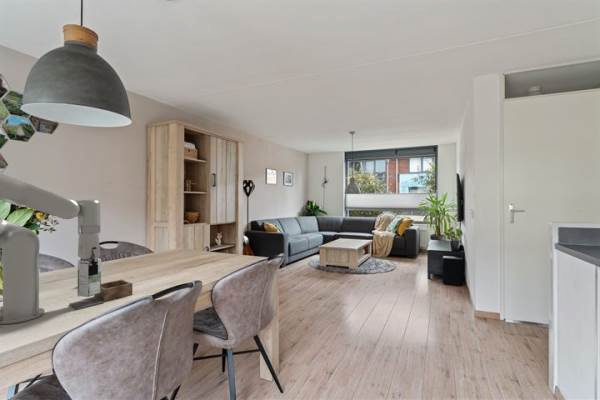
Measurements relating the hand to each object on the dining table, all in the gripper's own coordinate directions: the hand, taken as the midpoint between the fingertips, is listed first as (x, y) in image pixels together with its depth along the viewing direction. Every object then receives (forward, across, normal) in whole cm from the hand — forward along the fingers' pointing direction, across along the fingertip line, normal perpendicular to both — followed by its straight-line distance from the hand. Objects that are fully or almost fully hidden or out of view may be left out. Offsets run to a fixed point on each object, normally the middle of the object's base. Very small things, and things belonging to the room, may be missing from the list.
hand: (89, 273), depth 121 cm
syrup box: (+9, 0, 0) cm, 9 cm away
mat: (+12, 0, -1) cm, 12 cm away
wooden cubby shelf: (+12, -3, +10) cm, 16 cm away
